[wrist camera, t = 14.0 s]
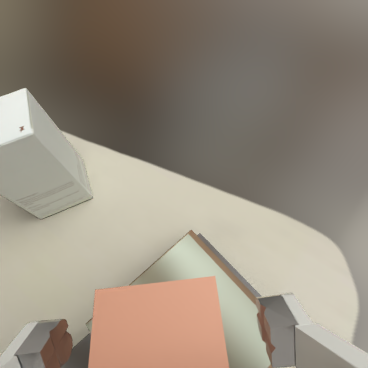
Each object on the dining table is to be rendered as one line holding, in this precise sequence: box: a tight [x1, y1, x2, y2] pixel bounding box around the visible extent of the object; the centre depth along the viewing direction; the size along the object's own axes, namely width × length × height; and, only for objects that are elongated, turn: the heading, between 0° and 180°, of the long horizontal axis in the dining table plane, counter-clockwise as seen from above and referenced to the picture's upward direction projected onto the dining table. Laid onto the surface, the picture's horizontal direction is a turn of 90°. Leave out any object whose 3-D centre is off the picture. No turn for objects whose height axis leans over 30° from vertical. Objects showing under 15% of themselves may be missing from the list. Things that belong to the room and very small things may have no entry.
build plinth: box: [61, 230, 272, 368], centre depth 19 cm, size 20×12×8 cm, turn 131°
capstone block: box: [88, 276, 229, 368], centre depth 13 cm, size 4×5×9 cm
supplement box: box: [0, 88, 93, 219], centre depth 27 cm, size 7×7×13 cm
